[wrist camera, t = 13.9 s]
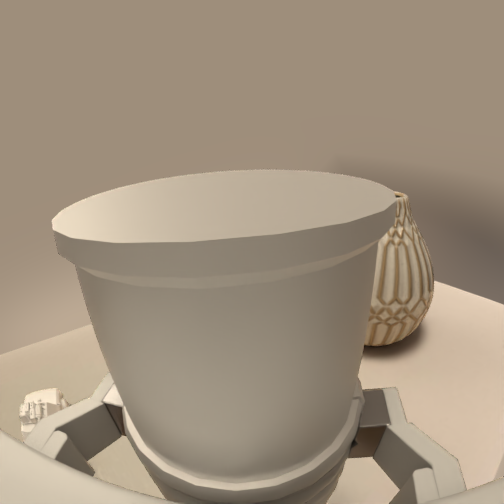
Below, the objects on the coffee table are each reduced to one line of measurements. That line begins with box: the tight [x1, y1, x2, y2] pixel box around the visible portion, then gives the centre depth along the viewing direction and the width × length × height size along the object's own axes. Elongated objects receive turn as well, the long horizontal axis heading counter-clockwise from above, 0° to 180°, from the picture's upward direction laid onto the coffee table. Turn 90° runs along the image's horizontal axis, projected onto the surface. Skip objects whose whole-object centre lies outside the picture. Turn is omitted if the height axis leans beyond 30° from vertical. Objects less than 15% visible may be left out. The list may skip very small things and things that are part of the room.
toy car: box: [19, 388, 69, 440], centre depth 22 cm, size 6×12×7 cm, turn 32°
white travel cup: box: [52, 170, 396, 504], centre depth 9 cm, size 7×7×15 cm
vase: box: [364, 192, 434, 346], centre depth 39 cm, size 16×16×20 cm
